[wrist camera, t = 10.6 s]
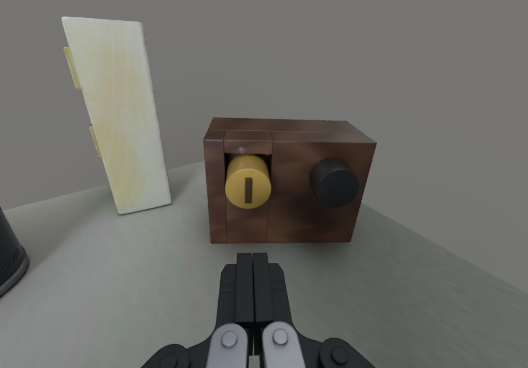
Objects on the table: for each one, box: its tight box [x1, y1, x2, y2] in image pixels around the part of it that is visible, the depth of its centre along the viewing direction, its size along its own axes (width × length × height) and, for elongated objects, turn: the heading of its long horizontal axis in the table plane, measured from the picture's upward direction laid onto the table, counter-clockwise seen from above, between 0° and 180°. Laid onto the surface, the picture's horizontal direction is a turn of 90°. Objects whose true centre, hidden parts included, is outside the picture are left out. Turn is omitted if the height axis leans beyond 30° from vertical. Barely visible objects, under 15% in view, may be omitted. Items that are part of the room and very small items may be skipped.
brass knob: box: [225, 154, 271, 209], centre depth 23 cm, size 4×4×4 cm
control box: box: [203, 118, 377, 243], centre depth 28 cm, size 16×11×12 cm
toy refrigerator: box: [62, 17, 172, 214], centre depth 31 cm, size 8×7×21 cm
